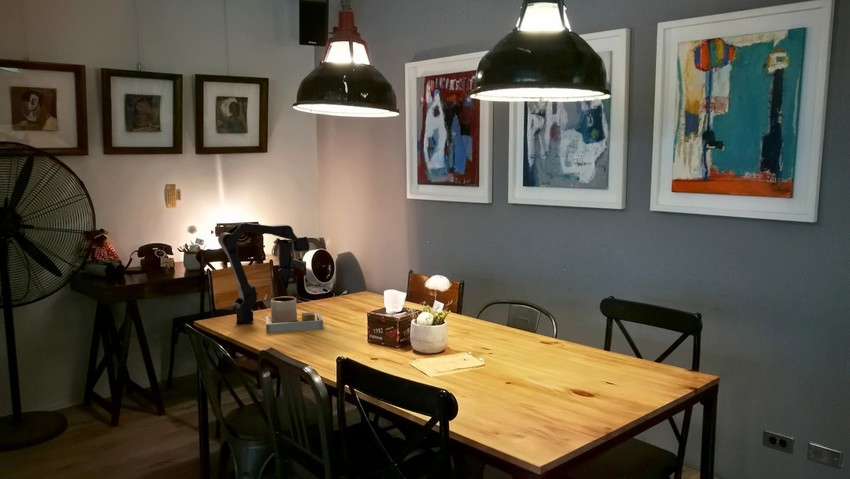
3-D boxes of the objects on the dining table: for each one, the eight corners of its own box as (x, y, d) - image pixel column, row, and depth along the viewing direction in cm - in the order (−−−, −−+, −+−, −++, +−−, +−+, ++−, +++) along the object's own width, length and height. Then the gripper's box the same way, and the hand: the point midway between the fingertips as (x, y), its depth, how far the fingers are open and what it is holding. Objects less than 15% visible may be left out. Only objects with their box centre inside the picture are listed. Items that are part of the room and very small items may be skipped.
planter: (266, 323, 286) (265, 300, 285) (279, 317, 296) (278, 295, 295) (289, 324, 283) (288, 302, 282) (301, 318, 293) (300, 297, 292)
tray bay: (266, 333, 269) (266, 324, 269) (265, 324, 283) (265, 316, 283) (323, 329, 275) (322, 320, 274) (319, 321, 288) (319, 313, 288)
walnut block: (303, 327, 278) (302, 315, 278) (302, 324, 283) (301, 312, 283) (315, 326, 280) (314, 314, 279) (314, 323, 284) (313, 312, 284)
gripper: (304, 255, 287) (305, 292, 289) (303, 250, 305) (304, 284, 307) (277, 256, 285) (278, 293, 286) (278, 250, 303) (279, 285, 305)
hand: (286, 288), depth 296 cm, fingers closed
